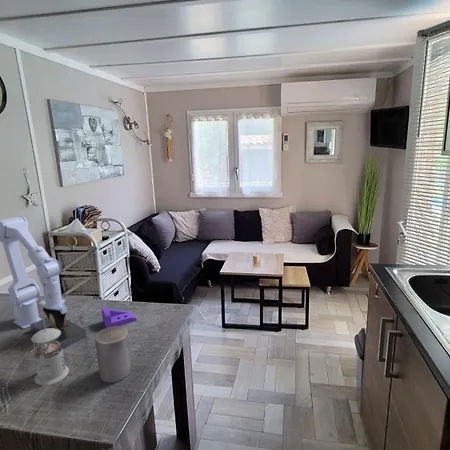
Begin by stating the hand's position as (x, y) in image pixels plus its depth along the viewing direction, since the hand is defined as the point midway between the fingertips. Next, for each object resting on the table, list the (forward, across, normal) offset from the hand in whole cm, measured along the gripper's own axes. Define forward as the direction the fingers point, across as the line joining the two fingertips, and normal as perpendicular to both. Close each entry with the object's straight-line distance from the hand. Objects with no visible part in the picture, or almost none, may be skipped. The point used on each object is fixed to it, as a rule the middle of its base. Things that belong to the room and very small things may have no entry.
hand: (57, 325), depth 129 cm
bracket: (+4, -12, -20) cm, 23 cm away
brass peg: (+2, 0, 0) cm, 2 cm away
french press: (+4, -21, +14) cm, 26 cm away
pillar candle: (+4, -38, +2) cm, 38 cm away
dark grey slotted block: (+4, 0, 0) cm, 4 cm away
